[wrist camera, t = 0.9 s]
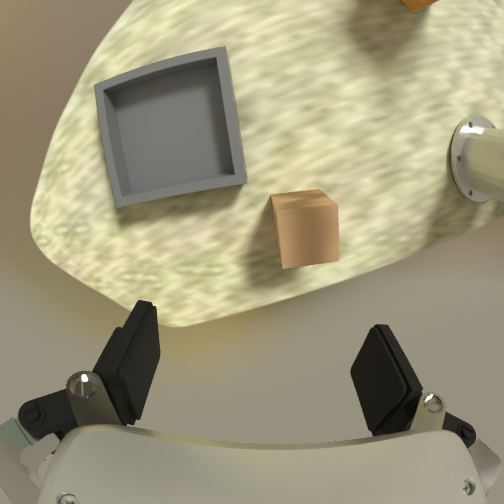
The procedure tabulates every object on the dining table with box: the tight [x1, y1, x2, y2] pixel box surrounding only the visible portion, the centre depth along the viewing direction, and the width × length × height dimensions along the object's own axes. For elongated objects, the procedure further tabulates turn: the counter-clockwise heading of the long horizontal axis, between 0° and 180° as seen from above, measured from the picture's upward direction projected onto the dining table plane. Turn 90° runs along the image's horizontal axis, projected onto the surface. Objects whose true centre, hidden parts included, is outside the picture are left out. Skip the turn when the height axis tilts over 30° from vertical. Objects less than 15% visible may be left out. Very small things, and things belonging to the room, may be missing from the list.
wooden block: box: [271, 189, 339, 269], centre depth 28 cm, size 6×6×7 cm
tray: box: [94, 46, 247, 208], centre depth 25 cm, size 14×14×4 cm
